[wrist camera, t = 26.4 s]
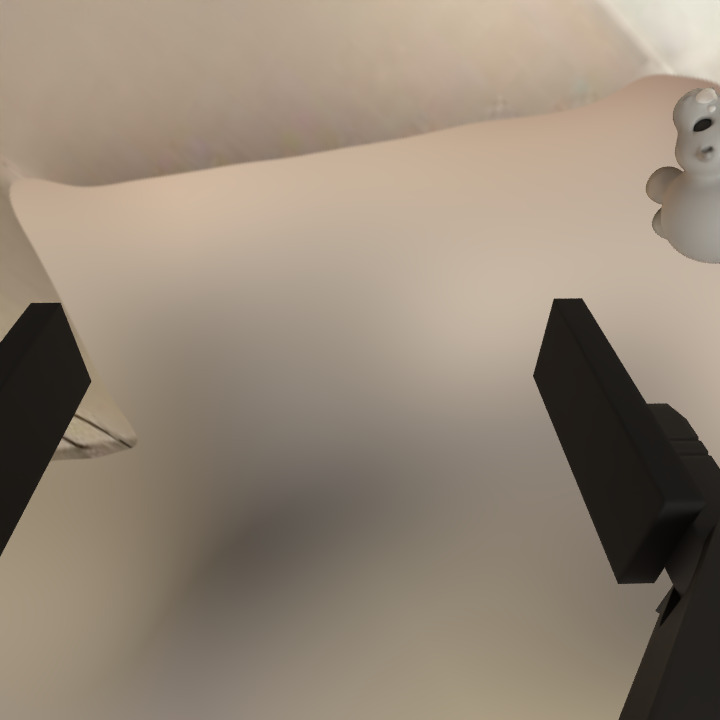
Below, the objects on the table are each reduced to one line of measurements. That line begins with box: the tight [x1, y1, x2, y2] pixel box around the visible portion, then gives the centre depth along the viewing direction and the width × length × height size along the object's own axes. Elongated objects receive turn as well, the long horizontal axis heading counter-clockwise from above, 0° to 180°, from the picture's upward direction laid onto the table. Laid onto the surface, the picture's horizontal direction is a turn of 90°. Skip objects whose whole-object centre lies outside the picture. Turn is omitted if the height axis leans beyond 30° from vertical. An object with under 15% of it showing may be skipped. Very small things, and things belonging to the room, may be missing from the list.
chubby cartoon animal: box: [646, 88, 720, 264], centre depth 37 cm, size 7×12×8 cm, turn 24°
